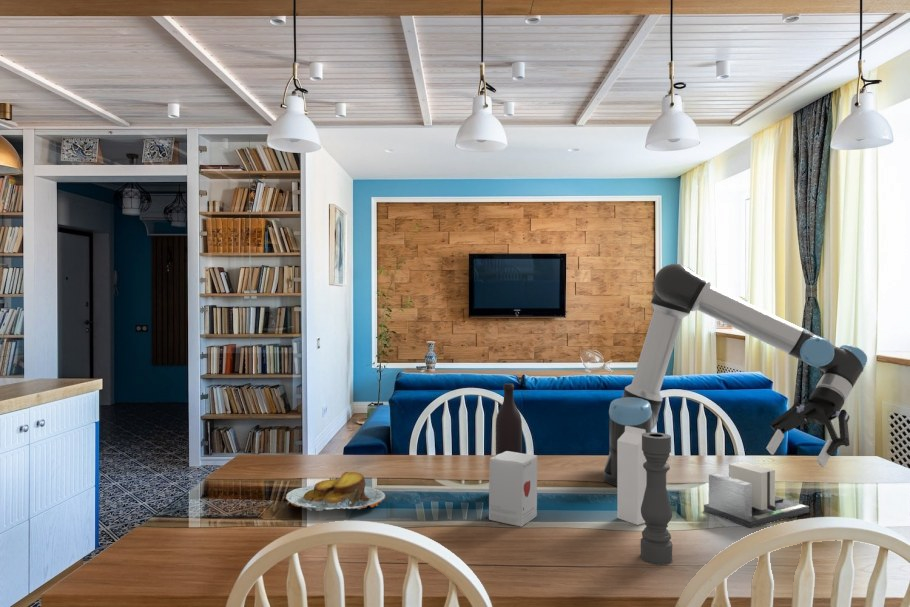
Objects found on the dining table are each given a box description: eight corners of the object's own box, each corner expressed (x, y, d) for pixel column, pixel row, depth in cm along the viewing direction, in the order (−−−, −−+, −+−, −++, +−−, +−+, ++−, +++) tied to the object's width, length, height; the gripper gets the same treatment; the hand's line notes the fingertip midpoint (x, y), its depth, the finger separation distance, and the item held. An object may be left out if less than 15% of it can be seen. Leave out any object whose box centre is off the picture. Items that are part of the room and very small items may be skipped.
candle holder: (673, 554, 126) (673, 433, 126) (670, 566, 120) (670, 440, 120) (642, 549, 129) (642, 431, 128) (638, 561, 123) (638, 437, 123)
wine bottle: (527, 494, 165) (527, 383, 165) (511, 501, 160) (511, 386, 160) (506, 489, 170) (506, 381, 170) (490, 495, 165) (490, 384, 165)
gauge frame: (750, 528, 141) (750, 486, 141) (703, 510, 152) (703, 472, 152) (809, 512, 151) (809, 474, 151) (761, 497, 162) (761, 461, 162)
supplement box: (522, 527, 141) (522, 463, 141) (488, 520, 146) (487, 457, 146) (538, 516, 149) (538, 454, 149) (505, 509, 154) (505, 450, 154)
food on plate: (274, 499, 163) (274, 474, 163) (361, 484, 176) (361, 461, 176) (305, 528, 141) (305, 500, 141) (401, 509, 155) (401, 483, 155)
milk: (637, 525, 143) (637, 431, 142) (616, 518, 147) (616, 427, 147) (653, 519, 146) (653, 427, 146) (632, 512, 151) (632, 423, 151)
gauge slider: (768, 512, 144) (768, 474, 144) (728, 499, 154) (728, 464, 154) (781, 509, 146) (781, 472, 146) (742, 496, 156) (742, 461, 156)
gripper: (885, 411, 154) (850, 479, 147) (792, 397, 176) (757, 455, 169) (873, 392, 151) (836, 459, 145) (780, 380, 174) (744, 438, 167)
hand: (793, 457), depth 157 cm, fingers open, 13 cm apart
